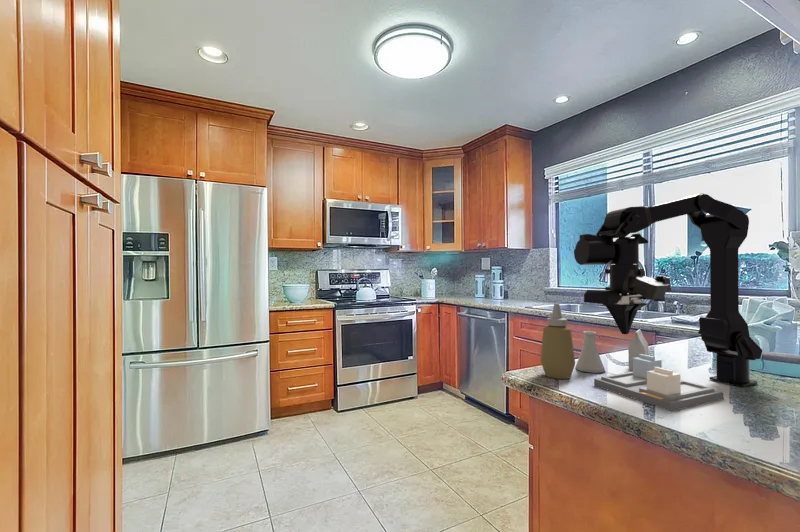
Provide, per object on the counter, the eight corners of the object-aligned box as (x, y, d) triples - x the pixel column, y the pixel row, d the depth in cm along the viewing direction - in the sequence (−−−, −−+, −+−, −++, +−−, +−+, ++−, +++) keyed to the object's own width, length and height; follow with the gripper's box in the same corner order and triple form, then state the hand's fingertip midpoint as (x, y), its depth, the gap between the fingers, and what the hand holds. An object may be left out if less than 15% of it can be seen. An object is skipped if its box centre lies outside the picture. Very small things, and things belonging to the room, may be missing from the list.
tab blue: (644, 373, 90) (644, 352, 90) (661, 377, 86) (661, 356, 86) (633, 375, 88) (632, 354, 88) (649, 379, 85) (649, 358, 85)
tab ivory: (660, 388, 78) (659, 365, 78) (680, 394, 75) (680, 370, 75) (647, 391, 77) (646, 367, 77) (667, 397, 73) (666, 372, 73)
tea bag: (648, 366, 102) (648, 329, 102) (645, 372, 97) (644, 333, 97) (632, 364, 104) (632, 328, 104) (628, 369, 99) (628, 331, 99)
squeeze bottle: (533, 375, 95) (532, 303, 95) (552, 370, 100) (551, 301, 100) (564, 383, 88) (563, 306, 89) (582, 376, 93) (580, 304, 93)
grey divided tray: (642, 377, 92) (642, 368, 92) (723, 399, 77) (723, 388, 77) (594, 385, 86) (594, 376, 86) (671, 411, 71) (671, 399, 71)
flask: (598, 366, 103) (598, 329, 103) (610, 374, 95) (610, 334, 96) (571, 366, 103) (570, 329, 103) (581, 373, 96) (580, 334, 96)
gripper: (627, 264, 74) (629, 344, 74) (689, 263, 81) (690, 336, 81) (581, 265, 84) (582, 335, 84) (639, 264, 91) (640, 329, 91)
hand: (624, 334), depth 85 cm, fingers closed
